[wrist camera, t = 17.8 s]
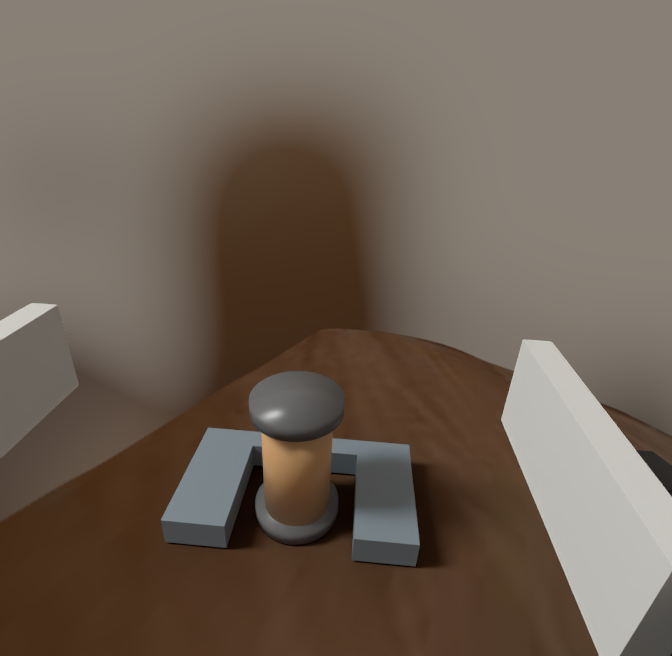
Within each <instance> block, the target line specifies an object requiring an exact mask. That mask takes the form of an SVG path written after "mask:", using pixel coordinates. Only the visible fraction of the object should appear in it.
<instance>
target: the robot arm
mask: <svg viewBox="0 0 672 656" xmlns="http://www.w3.org/2000/svg"><path fill="white" fill-rule="evenodd" d="M78 385H79V384H78V381H77V377H76V373H75V369H74V365H73V362H72V358H71V355H70V351H69V347H68V343H67V339H66V336H65V332H64V328H63V324H62V320H61V317H60V313H59V309H58V305H51V304H38V303H31V304H29V305H27V306H26V307H24V308H22V309H21V310H19V311H17V312H15V313H13V314H11V315H10V316H8V317H6V318H4V319H3V320H1V321H0V459H1V458H2V457H3V456H4V455H5V454H6V453H7V452H8V451H9V450H10V449H11V448H12V447H13V446H14V445H16V444H17V443H18V442H19V441H20V440H21V439H22V438H23V437H24V436H25V435H26V434H27V433H28V432H29V431H30V430H31V429H33V428H34V427H35V426H36V425H37V423H39V422H40V421H41V420H42V419H43V418H44V417H45V416H46V415H47V414H49V413H50V412H51V411H52V410H53V409H54V408H55V407H56V406H57V405H58V404H59V403H60V402H61V401H62V400H63V399H64V398H66V396H68V395H69V394H70V393H71V392H72V391H73V390H74V389H75V388H76V387H77V386H78ZM501 421H502V423H503V426H504V428H505V431H506V433H507V435H508V438H509V440H510V443H511V445H512V447H513V450H514V452H515V455H516V457H517V459H518V462H519V464H520V467H521V469H522V471H523V474H524V476H525V479H526V481H527V483H528V486H529V488H530V491H531V493H532V495H533V498H534V500H535V503H536V505H537V507H538V510H539V512H540V515H541V517H542V519H543V522H544V524H545V527H546V529H547V532H548V534H549V536H550V539H551V541H552V544H553V546H554V548H555V551H556V553H557V556H558V558H559V560H560V563H561V565H562V568H563V570H564V572H565V575H566V577H567V580H568V582H569V584H570V587H571V589H572V592H573V594H574V596H575V599H576V601H577V604H578V606H579V608H580V611H581V613H582V616H583V618H584V620H585V623H586V625H587V628H588V630H589V632H590V635H591V637H592V640H593V642H594V644H595V647H596V649H597V652H598V654H599V656H672V466H671V465H670V464H669V463H667V462H666V461H665V460H663V459H662V458H661V457H659V456H658V455H657V454H655V453H654V452H651V451H639V450H635V449H634V447H633V446H632V445H631V443H630V442H629V441H628V440H627V438H626V437H625V436H624V434H623V433H622V432H621V431H620V429H619V428H618V427H617V425H616V424H615V423H614V421H613V420H612V419H611V418H610V416H609V415H608V414H607V412H606V411H605V410H604V409H603V407H602V406H601V405H600V403H599V402H598V401H597V400H596V398H595V397H594V396H593V395H592V393H591V392H590V390H589V389H588V388H587V387H586V385H585V384H584V383H583V381H582V380H581V379H580V378H579V376H578V375H577V374H576V372H575V371H574V370H573V368H572V367H571V366H570V365H569V363H568V362H567V361H566V359H565V358H564V357H563V356H562V354H561V353H560V352H559V350H558V349H557V348H556V347H555V345H554V344H553V343H552V342H551V341H537V340H523V341H522V345H521V349H520V352H519V356H518V360H517V363H516V367H515V371H514V374H513V378H512V382H511V385H510V389H509V393H508V396H507V400H506V403H505V407H504V411H503V414H502V418H501Z"/></svg>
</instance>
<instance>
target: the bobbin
mask: <svg viewBox="0 0 672 656" xmlns="http://www.w3.org/2000/svg"><path fill="white" fill-rule="evenodd" d="M344 405H345V396H344V393H343V390H342V389H341V387H340V386H339V385H338V384H337V383H336V382H334V381H333V380H331V379H330V378H328V377H326V376H323V375H320V374H317V373H312V372H305V371H291V372H283V373H279V374H275V375H272V376H270V377H268V378H266V379H264V380H262V381H261V382H259V383H258V384H257V385H256V386H255V387H254V388H253V390H252V391H251V393H250V396H249V411H250V419H251V421H252V423H253V425H254V426H255V427H256V428H257V429H258V430H259V431H260V432H261V436H262V457H263V478H264V482H263V484H262V485H261V486H260V488H259V490H258V492H257V494H256V499H255V509H256V519H257V522H258V524H259V526H260V528H261V529H262V531H263V532H264V533H265V534H266V535H267V536H269V537H270V538H271V539H273V540H275V541H277V542H280V543H284V544H289V545H301V544H307V543H310V542H313V541H315V540H317V539H319V538H321V537H323V536H324V535H325V534H326V533H327V532H328V531H329V530H330V529H331V528H332V526H333V525H334V523H335V521H336V518H337V514H338V493H337V490H336V488H335V486H334V484H333V483H332V482H331V480H330V476H331V456H332V435H333V430H335V429H336V428H337V427H338V426H339V424H340V423H341V421H342V419H343V416H344Z"/></svg>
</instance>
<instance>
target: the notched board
mask: <svg viewBox="0 0 672 656" xmlns="http://www.w3.org/2000/svg"><path fill="white" fill-rule="evenodd" d="M254 465H255V466H263V457H262V436H261V432H252V431H241V430H229V429H218V428H208V429H207V431H206V433H205V435H204V437H203V439H202V441H201V443H200V445H199V447H198V449H197V451H196V453H195V454H194V456H193V458H192V460H191V462H190V464H189V466H188V468H187V470H186V472H185V474H184V476H183V478H182V480H181V482H180V484H179V486H178V488H177V490H176V491H175V493H174V495H173V497H172V499H171V501H170V503H169V505H168V507H167V509H166V511H165V513H164V515H163V517H162V519H161V525H162V530H163V535H164V540H165V542H171V543H181V544H192V545H202V546H212V547H222V548H227V545H228V542H229V539H230V536H231V533H232V530H233V526H234V523H235V520H236V517H237V514H238V511H239V508H240V505H241V502H242V499H243V496H244V493H245V490H246V487H247V484H248V481H249V478H250V475H251V472H252V469H253V466H254ZM331 472H333V473H345V474H356V476H355V498H354V521H353V543H352V560H354V561H365V562H375V563H385V564H395V565H405V566H415V567H416V562H417V557H418V552H419V547H420V541H419V532H418V523H417V514H416V505H415V496H414V487H413V478H412V469H411V460H410V451H409V445H404V444H392V443H381V442H369V441H357V440H346V439H334V438H332V456H331Z"/></svg>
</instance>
